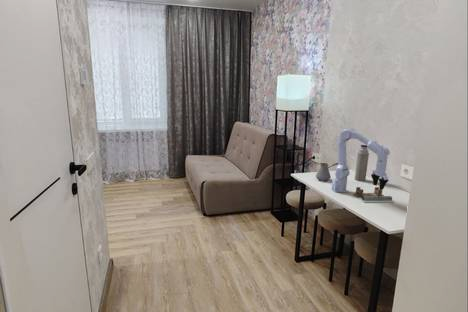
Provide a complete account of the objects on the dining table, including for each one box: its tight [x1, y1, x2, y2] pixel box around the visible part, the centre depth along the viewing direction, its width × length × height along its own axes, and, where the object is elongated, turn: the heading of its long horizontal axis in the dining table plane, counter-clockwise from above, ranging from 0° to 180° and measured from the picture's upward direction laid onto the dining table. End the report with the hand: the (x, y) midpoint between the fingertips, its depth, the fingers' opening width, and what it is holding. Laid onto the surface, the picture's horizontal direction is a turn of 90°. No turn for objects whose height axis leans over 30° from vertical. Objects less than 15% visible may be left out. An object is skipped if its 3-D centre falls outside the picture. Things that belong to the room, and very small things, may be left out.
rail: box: [360, 195, 393, 200], centre depth 191 cm, size 19×2×2 cm, turn 93°
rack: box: [352, 186, 385, 198], centre depth 199 cm, size 19×5×5 cm, turn 93°
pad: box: [358, 197, 395, 204], centre depth 191 cm, size 20×7×1 cm, turn 93°
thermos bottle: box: [354, 144, 370, 182], centre depth 230 cm, size 8×8×28 cm
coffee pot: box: [315, 162, 338, 182], centre depth 231 cm, size 21×12×15 cm, turn 97°
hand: (378, 187), depth 189 cm, fingers open, 7 cm apart
